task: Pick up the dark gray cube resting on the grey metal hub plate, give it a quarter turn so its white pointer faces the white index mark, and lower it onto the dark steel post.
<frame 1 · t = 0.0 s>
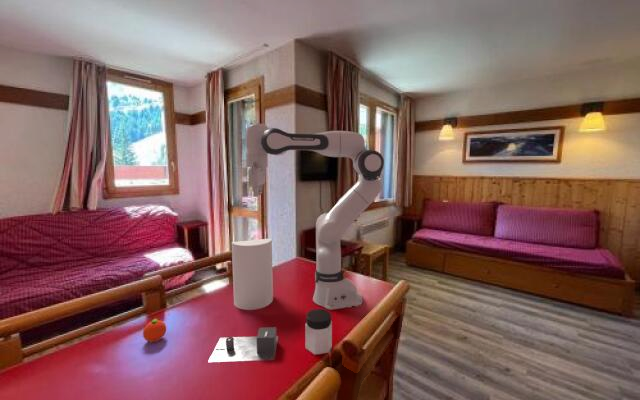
hand: (257, 195, 117), 48 cm above the table, fingers open, 8 cm apart
clementine: (155, 339, 96), on the table
dark gray cube: (267, 347, 89), point 1 cm above the table, touching hub plate
jar: (318, 349, 90), on the table
hub plate: (245, 351, 89), on the table
cylinder: (253, 300, 124), on the table
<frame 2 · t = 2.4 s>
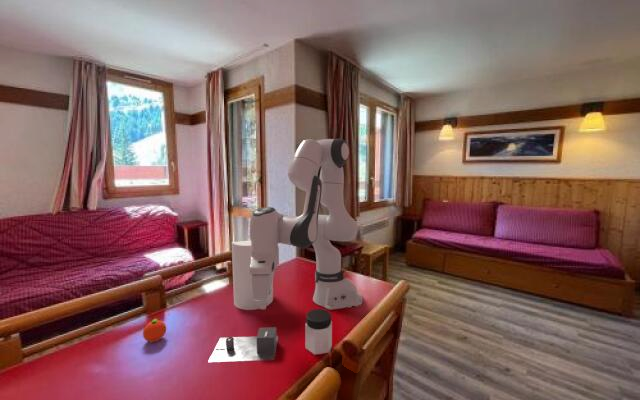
hand: (265, 300, 87), 17 cm above the table, fingers open, 8 cm apart
nothing on the table moved.
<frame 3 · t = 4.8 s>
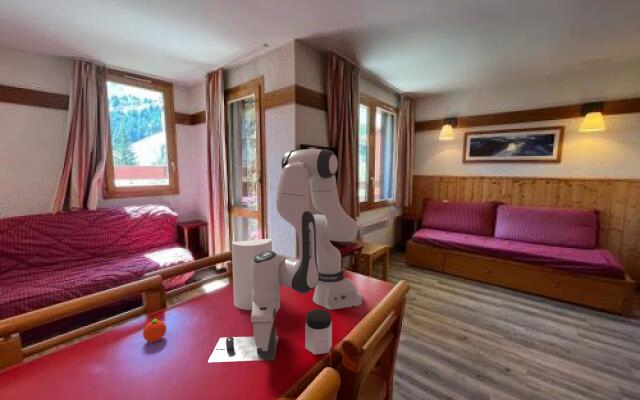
hand: (267, 342, 89), 3 cm above the table, fingers closed on dark gray cube, 6 cm apart
dark gray cube: (267, 347, 89), point 1 cm above the table, touching gripper, hub plate
everything else where it was.
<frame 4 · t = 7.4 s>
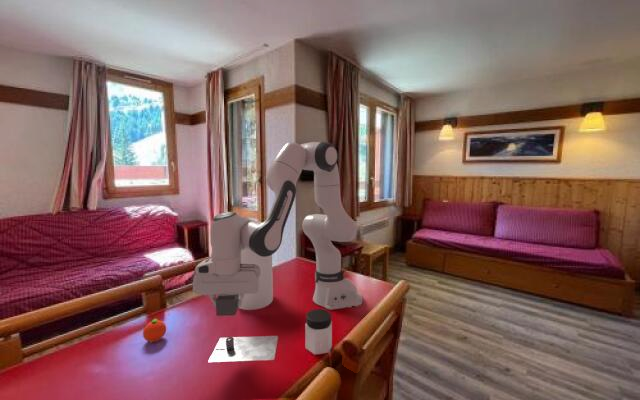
hand: (227, 306, 87), 16 cm above the table, fingers closed on dark gray cube, 6 cm apart
dark gray cube: (228, 310, 87), point 14 cm above the table, touching gripper
everything else where it was.
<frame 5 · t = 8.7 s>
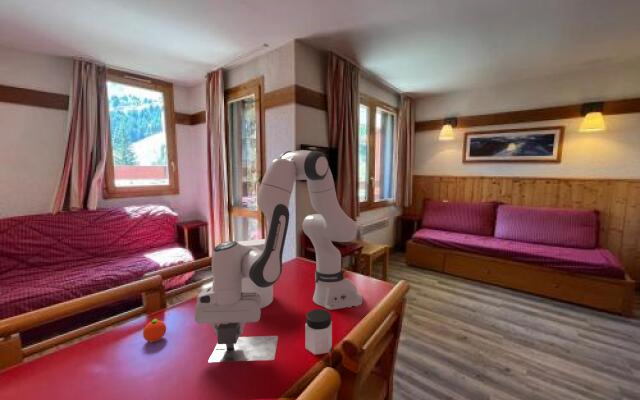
hand: (229, 333, 88), 6 cm above the table, fingers closed on dark gray cube, 6 cm apart
dark gray cube: (229, 338, 88), point 5 cm above the table, touching gripper
everything else where it was.
when the fingers open (4 cm above the table, at t = 10.1 s): dark gray cube stays where it is, resting on hub plate.
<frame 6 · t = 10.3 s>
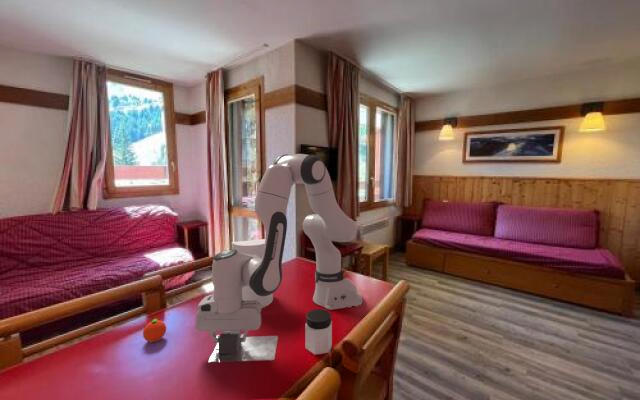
hand: (229, 341, 89), 4 cm above the table, fingers open, 7 cm apart
dark gray cube: (230, 348, 89), point 1 cm above the table, touching hub plate
everything else where it was.
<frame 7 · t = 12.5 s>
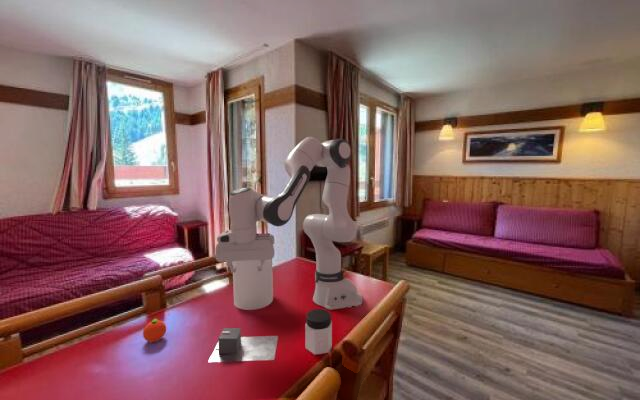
hand: (246, 271, 98), 23 cm above the table, fingers open, 8 cm apart
nothing on the table moved.
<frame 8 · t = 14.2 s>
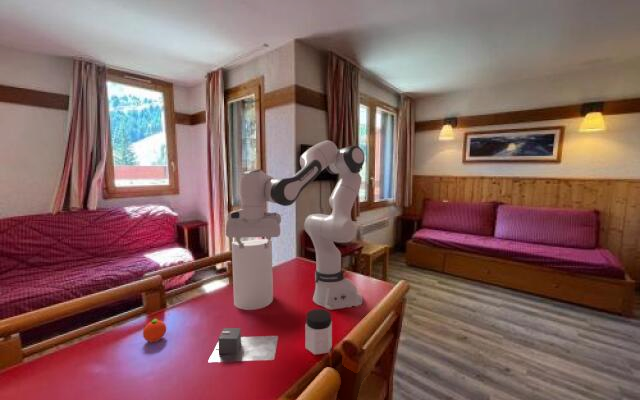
hand: (254, 248, 105), 29 cm above the table, fingers open, 8 cm apart
nothing on the table moved.
at the end: dark gray cube 0.0 cm from the target spot on the hub plate, point 1.3 cm above the hub plate's base; dark gray cube tilted 2°; the gripper is holding nothing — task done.
